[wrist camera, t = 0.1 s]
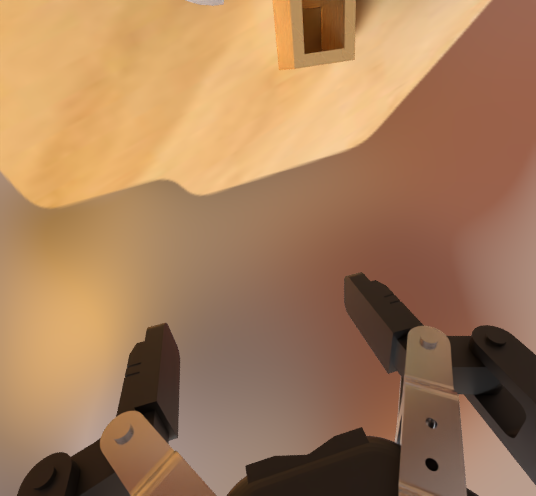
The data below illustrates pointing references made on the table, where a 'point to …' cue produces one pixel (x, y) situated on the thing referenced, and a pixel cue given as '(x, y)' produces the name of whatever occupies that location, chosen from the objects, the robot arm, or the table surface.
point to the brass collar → (332, 32)
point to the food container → (207, 2)
